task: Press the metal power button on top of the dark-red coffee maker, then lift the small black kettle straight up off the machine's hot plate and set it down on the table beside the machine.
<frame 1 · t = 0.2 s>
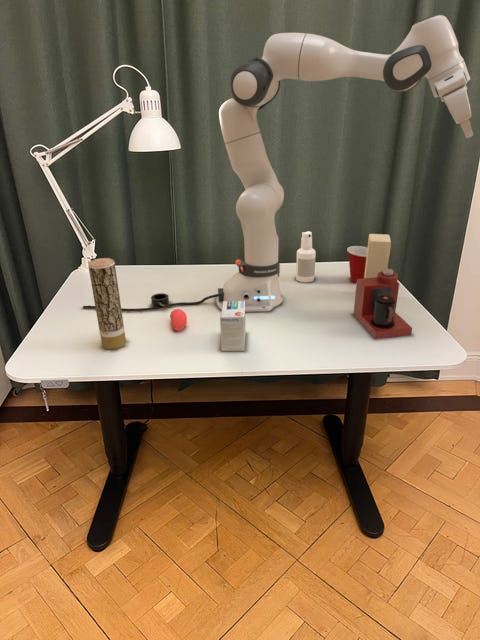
hand: (468, 134, 124), 54 cm above the table, tool tilted 30°, fingers open, 8 cm apart
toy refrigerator: (373, 297, 165), on the table
warming base: (385, 329, 144), on the table
light bulb box: (234, 342, 139), on the table
red bean-shaped piece: (178, 326, 149), on the table
kettle: (382, 322, 142), point 3 cm above the table, touching warming base
spray bottle: (305, 279, 181), on the table
coffee maker: (373, 317, 151), on the table
paper tube: (114, 345, 139), on the table
plastic cup: (359, 281, 178), on the table
power button: (388, 273, 145), point 14 cm above the table, slide at 0.1 cm
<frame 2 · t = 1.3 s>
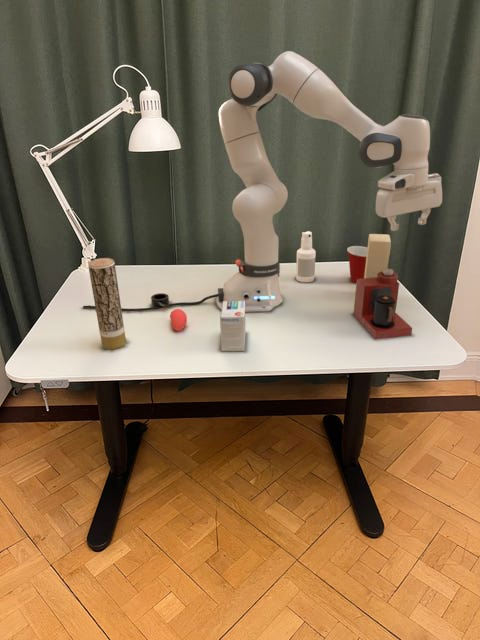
hand: (408, 227, 138), 29 cm above the table, tool pointing down, fingers open, 8 cm apart
nothing on the table moved.
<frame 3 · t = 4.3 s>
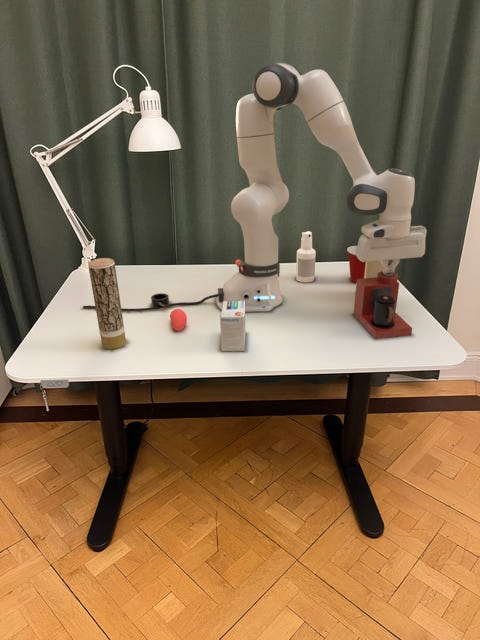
hand: (388, 272, 145), 15 cm above the table, tool pointing down, fingers closed, pressing on power button
power button: (387, 275, 146), point 14 cm above the table, slide at -0.7 cm, touching gripper
everything else where it was.
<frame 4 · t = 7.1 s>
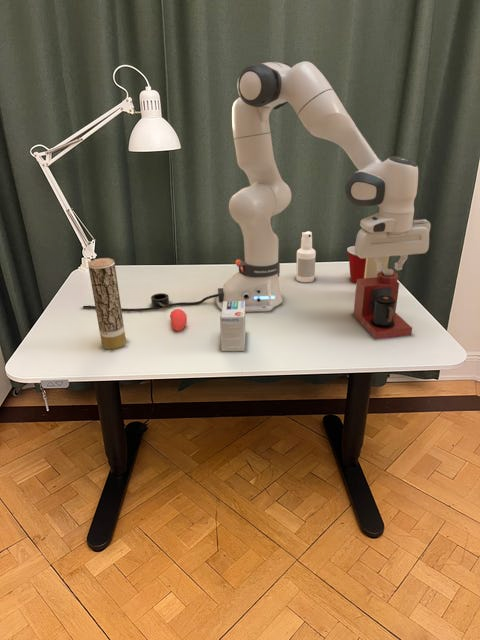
hand: (389, 270, 135), 19 cm above the table, tool pointing down, fingers open, 4 cm apart
power button: (388, 273, 145), point 14 cm above the table, slide at 0.1 cm
everything else where it was.
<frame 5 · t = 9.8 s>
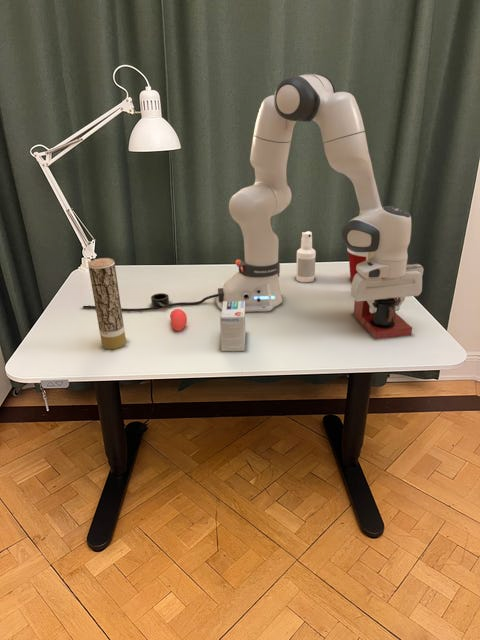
hand: (383, 311, 140), 6 cm above the table, tool pointing down, fingers closed on kettle, 5 cm apart
kettle: (382, 322, 142), point 3 cm above the table, touching gripper, warming base
everything else where it was.
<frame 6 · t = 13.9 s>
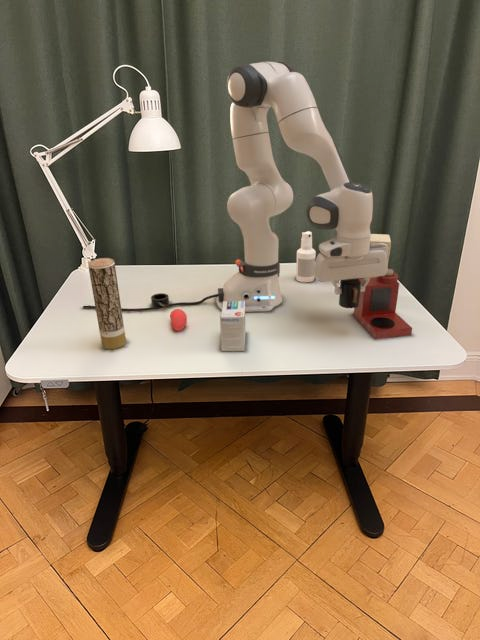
hand: (349, 292, 136), 13 cm above the table, tool pointing down, fingers closed on kettle, 5 cm apart
kettle: (348, 304, 138), point 9 cm above the table, touching gripper
everything else where it was.
when the fingers open (3 cm above the table, at t = 16.4 s): kettle stays where it is, on the table.
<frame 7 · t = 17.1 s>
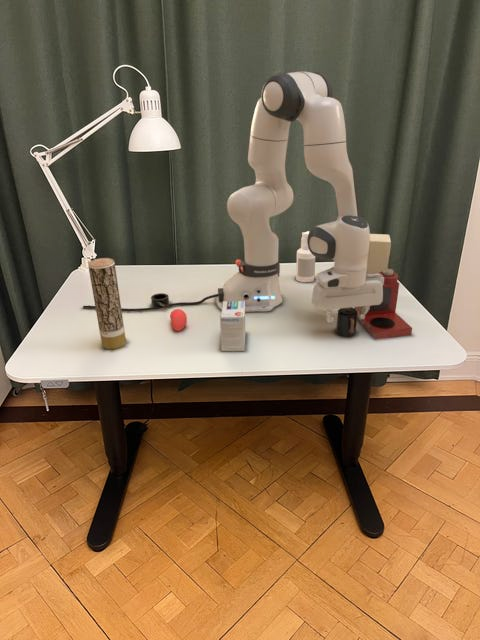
hand: (345, 320, 141), 4 cm above the table, tool pointing down, fingers open, 8 cm apart
kettle: (345, 333, 142), on the table
everything else where it was.
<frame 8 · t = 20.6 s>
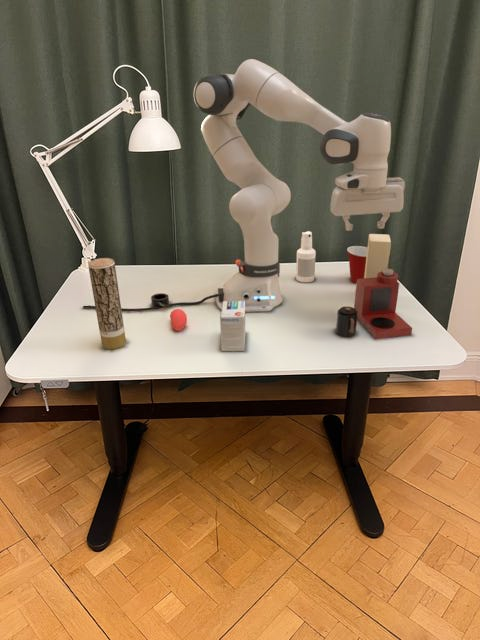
hand: (364, 229, 136), 29 cm above the table, tool pointing down, fingers open, 8 cm apart
nothing on the table moved.
at the end: power button pushed in 0.8 cm at the most during the clip, back to where it started at the end; kettle inside the target area (0.2 cm from its centre), on the table; kettle tilted 0° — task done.
